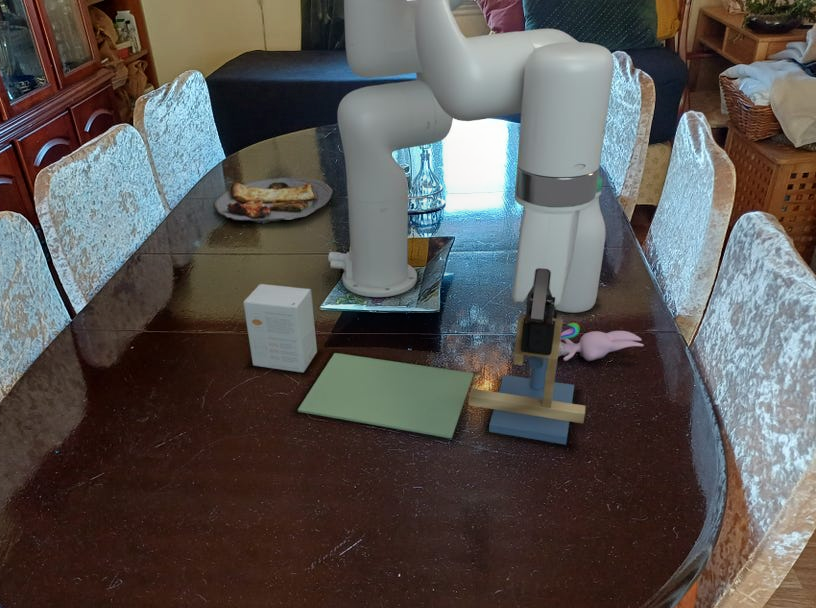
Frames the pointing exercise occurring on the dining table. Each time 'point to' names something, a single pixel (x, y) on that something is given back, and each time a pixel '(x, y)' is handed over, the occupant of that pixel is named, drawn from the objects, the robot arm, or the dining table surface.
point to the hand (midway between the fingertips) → (537, 345)
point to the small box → (281, 327)
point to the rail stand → (528, 423)
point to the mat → (389, 394)
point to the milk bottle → (585, 259)
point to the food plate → (273, 199)
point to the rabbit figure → (595, 343)
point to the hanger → (529, 404)
